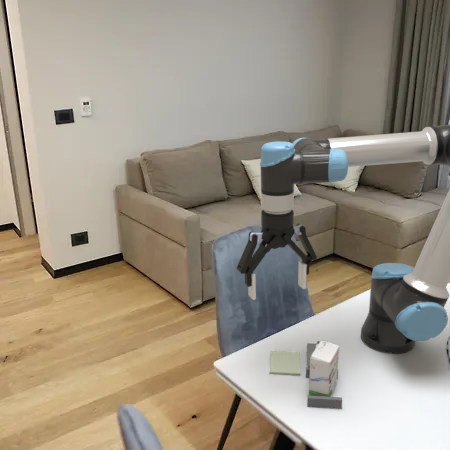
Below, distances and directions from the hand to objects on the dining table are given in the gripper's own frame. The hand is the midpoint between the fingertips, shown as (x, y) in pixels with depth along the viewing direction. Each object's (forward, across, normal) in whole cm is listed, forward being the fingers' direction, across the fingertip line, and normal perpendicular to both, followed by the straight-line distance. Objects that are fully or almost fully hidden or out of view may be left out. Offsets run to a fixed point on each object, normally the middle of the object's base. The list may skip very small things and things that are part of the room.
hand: (277, 292), depth 127 cm
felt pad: (+24, -4, -4) cm, 25 cm away
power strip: (+24, -11, +3) cm, 27 cm away
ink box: (+25, -8, +10) cm, 28 cm away
